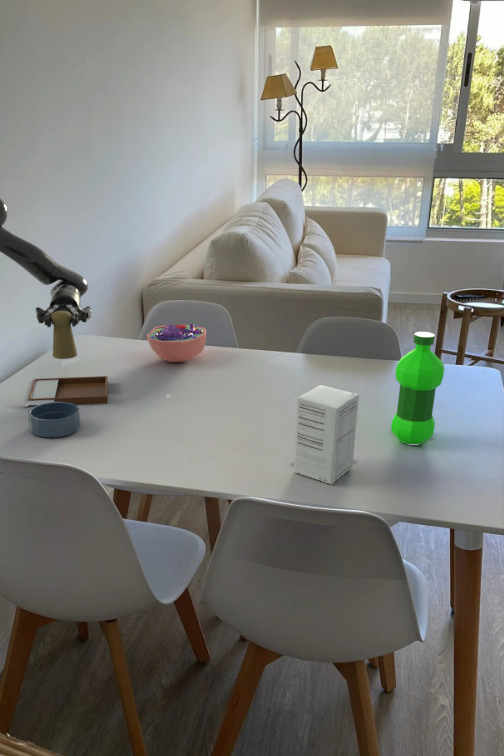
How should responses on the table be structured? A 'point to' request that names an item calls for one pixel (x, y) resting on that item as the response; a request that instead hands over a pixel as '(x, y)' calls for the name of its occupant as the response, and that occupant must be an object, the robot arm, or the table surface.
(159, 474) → the table surface
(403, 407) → the plastic bottle
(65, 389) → the tray
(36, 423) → the bowl
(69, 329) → the cork
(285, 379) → the table surface
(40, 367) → the table surface
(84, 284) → the robot arm
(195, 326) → the cell model
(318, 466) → the supplement box
